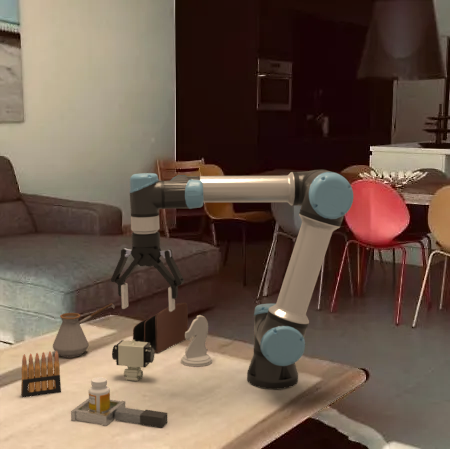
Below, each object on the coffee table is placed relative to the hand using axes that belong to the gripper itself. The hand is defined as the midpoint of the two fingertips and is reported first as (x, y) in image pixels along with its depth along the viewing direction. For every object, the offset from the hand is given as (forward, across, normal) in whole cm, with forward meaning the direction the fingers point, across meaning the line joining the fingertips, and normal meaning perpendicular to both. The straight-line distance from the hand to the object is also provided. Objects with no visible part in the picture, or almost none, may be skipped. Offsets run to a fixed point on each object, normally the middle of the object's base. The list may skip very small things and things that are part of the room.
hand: (148, 309), depth 204 cm
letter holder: (+26, +16, -48) cm, 56 cm away
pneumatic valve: (+26, +11, -13) cm, 31 cm away
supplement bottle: (+25, +9, +15) cm, 31 cm away
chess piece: (+26, -2, -34) cm, 43 cm away
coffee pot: (+25, +36, -32) cm, 54 cm away
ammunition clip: (+25, +30, +6) cm, 40 cm away
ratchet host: (+25, +2, +15) cm, 29 cm away
